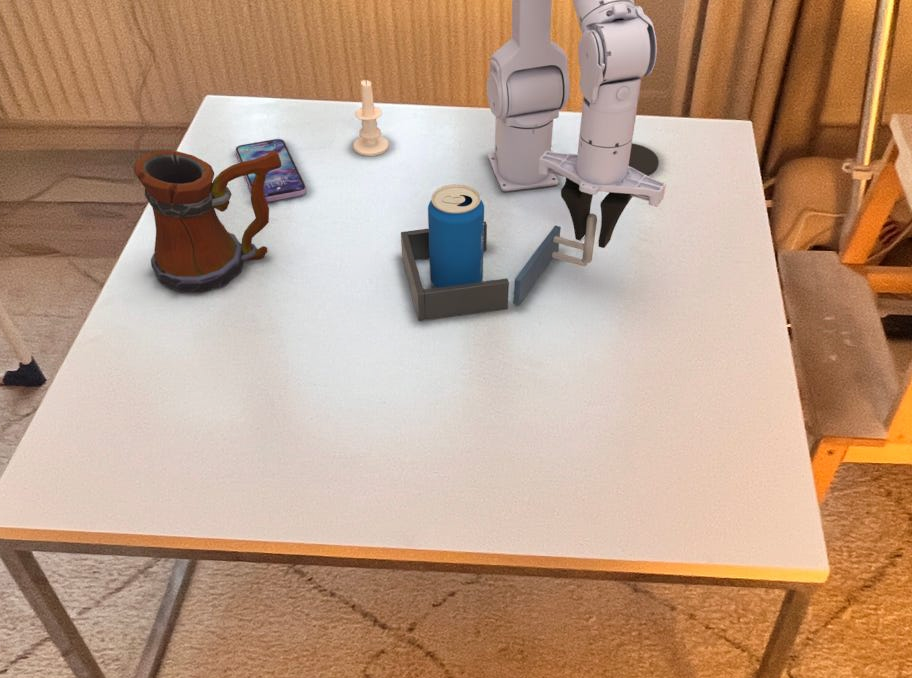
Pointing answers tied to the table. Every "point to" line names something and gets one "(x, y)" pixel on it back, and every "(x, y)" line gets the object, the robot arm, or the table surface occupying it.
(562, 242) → the cooler door
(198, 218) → the mug
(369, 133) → the candle
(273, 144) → the smartphone
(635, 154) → the coaster
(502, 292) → the dark grey u-shaped piece
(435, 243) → the beverage can
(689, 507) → the table surface
